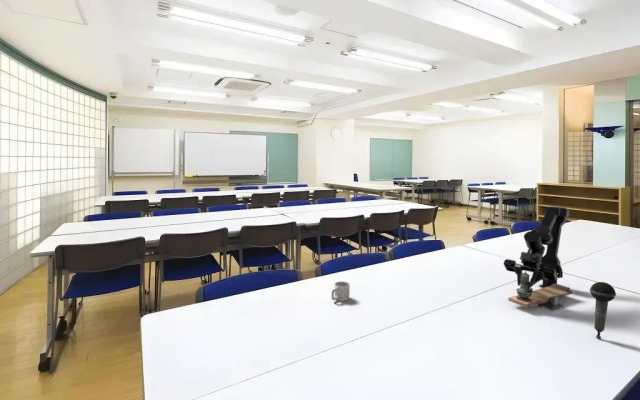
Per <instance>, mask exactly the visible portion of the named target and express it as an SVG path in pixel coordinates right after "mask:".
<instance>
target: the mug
mask: <svg viewBox="0 0 640 400" xmlns="http://www.w3.org/2000/svg"><path fill="white" fill-rule="evenodd" d="M350 293H351V291H350V283H349V282H347V281H341V280H340V281H337V282H334V288H333V289H332V290H331V295H330V296H331V300H332V301H337V302H348V301H349V300H350Z"/></svg>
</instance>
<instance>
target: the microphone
mask: <svg viewBox="0 0 640 400" xmlns="http://www.w3.org/2000/svg"><path fill="white" fill-rule="evenodd" d="M589 291H590V294H591V296H592V298H593V299H595V308H594V309H595V310H594V311H595V312H594V327H593V328H594V330H595V331H596V332H597V334H596V336H595V338H597V340H601V338H602V337H601V333H603V332H605V326H606V320H607V314H608V313H607V312H608V306H609V302H611V301H613V300H614V299H615V297H616V296H617V292H616V289H615V288H614V286H613V285H611V284H609V283H608V282H604V281H597V282H594V283H593V284H592V285H591V287H590V289H589Z"/></svg>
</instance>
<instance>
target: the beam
mask: <svg viewBox="0 0 640 400" xmlns="http://www.w3.org/2000/svg"><path fill="white" fill-rule="evenodd" d="M532 292H533V293H532V295H531V296H530V297H529V298H530V299H531V301H530V302H524V301H520V300H518V299H517V297H518V296H519V295H518V294H517V295H514V296H511V297H508V298H507V299H508V300H507V301H508V302H510V303H514V304H516V305H519V306H521V307H524V308H527V309H529V308H532V307H534V306H538V304H541V303H544V302H547V301H551V297H552V296H557V297H558V299H560V298H562V297H565V296H569V295H573V293H574V291H573V290H571V287H569V286H565V285H562V284H558V283H557V284H556V283H555V284H552V286H549V287H545V288H543V287H540V288H539V289H533V291H532Z"/></svg>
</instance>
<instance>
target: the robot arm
mask: <svg viewBox="0 0 640 400" xmlns="http://www.w3.org/2000/svg"><path fill="white" fill-rule="evenodd" d="M570 211H571V210H569V209H568V208H567V207H561V206H547V207H546V209H545V213H544V215H543V218H542V219H541V222H540V224H539V225H538V226H536V227H534V229H533V228H532V229H531V230H530V231H527V232H525V233H524V234H523V240H524V242H525V244H526V247H527V248H528V249H527V252H525V251H521V252H520V257H519V260H520V263H517V262H516V260H514V259H507V258H506V259H504V261H503V266H504V268H505V270H506V271H507V272H511V273H514V274H515V275H516V277H517V278H516V280H517V281H516V282H517V283H516V284H517V287H520V285H521V282H520V281H521V275H522V274H523V271H524V272H525V271H526V272H530V273H532V275H531V278H530V279H529V284H528V288H532V287H533V286H534V285H536V284H538V283H539V282H540V281H542V283H541V284H539V285H538V286H539V287H540V288H545V287H549V286H552V284H555V283H556V284H558V279H563V278H564V272H563V268H562V265H561V260H560V258H559V257H558V254H559V248H560V242H561V235H562V228H563V225H565V224H566V222H567V221H568V218H569V217H570V213H571V212H570ZM545 246H546V247H545ZM545 250H546V252H545Z"/></svg>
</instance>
